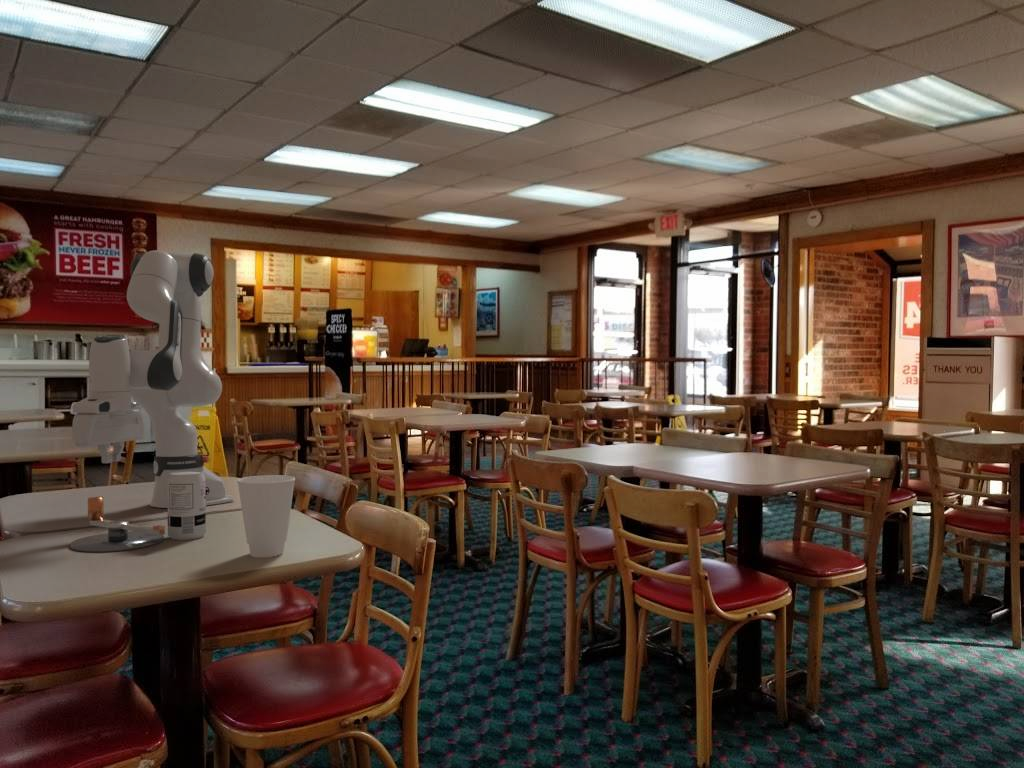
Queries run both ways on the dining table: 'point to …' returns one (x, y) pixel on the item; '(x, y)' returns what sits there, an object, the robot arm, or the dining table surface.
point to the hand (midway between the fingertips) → (111, 462)
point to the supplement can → (186, 505)
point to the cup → (266, 512)
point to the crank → (98, 520)
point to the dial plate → (116, 541)
